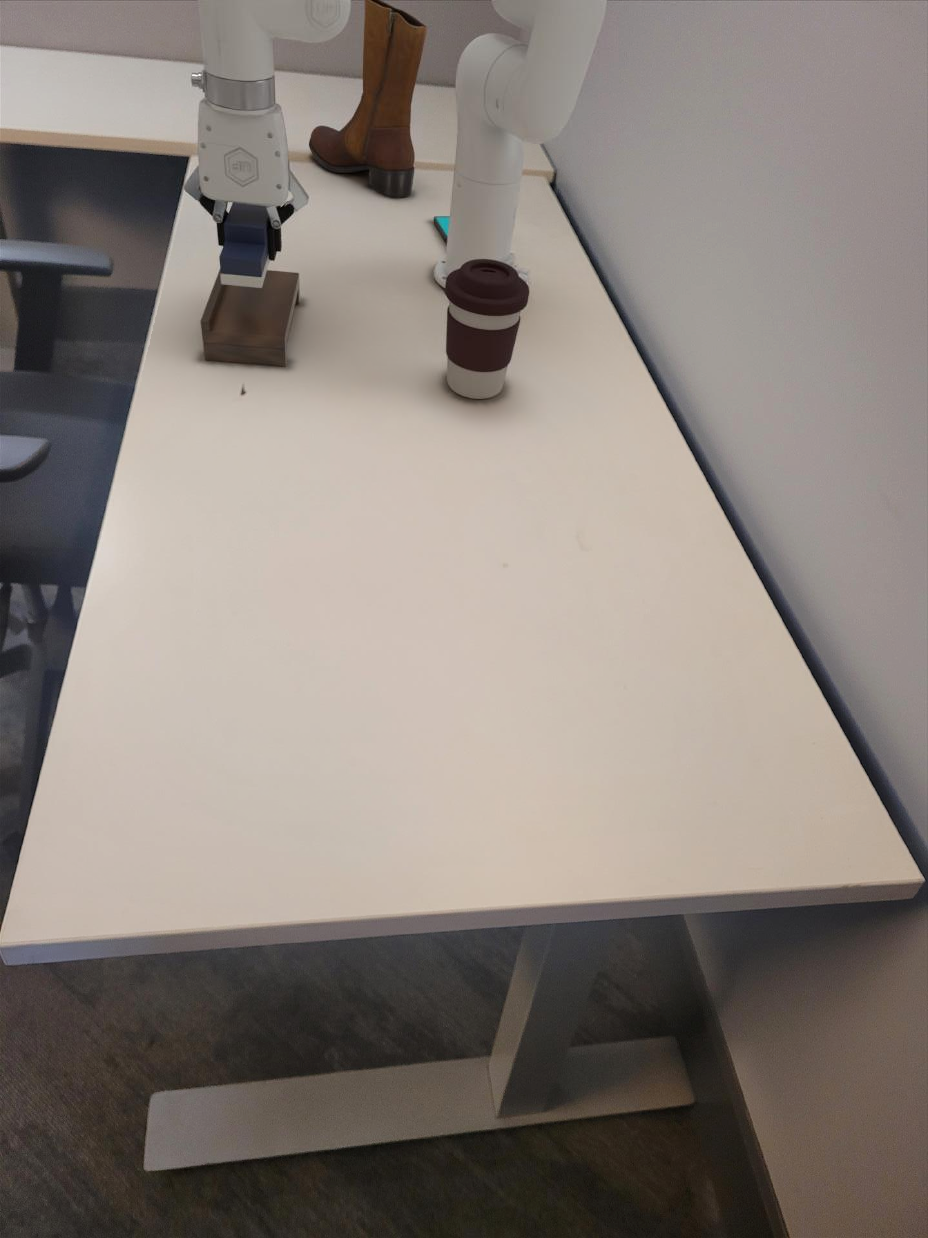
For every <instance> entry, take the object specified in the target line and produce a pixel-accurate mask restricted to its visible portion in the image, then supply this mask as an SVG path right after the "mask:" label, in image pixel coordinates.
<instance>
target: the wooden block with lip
mask: <svg viewBox="0 0 928 1238" xmlns="http://www.w3.org/2000/svg"><path fill="white" fill-rule="evenodd" d="M220 275H221V271H220V269H219V270H218V273H217V275H216V279H215V281H214V283H213V286H212V288H211V291H210V294H209V297H208V300H207V303H206V305H205V308H204V311H203V313H202V316H201V319H200V330H201V338H202V346H203V355H204V361H210V362H211V361H212V362H223V363H224V362H225V363H238V364H251V365H261V366H273V367H287V363H288V355H287V343H288V338H289V333H290V329H291V324H292V320H293V315H294V310H295V306H296V305H300V302H301V295H300V293H301V291H300V273H299V272H293V271H283V270H273V269H272V270H271V269H267V272H266V275H265V279H264V282H263V286H262V288H256V287H245V286H235V285H224V284H221V277H220Z"/></svg>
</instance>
